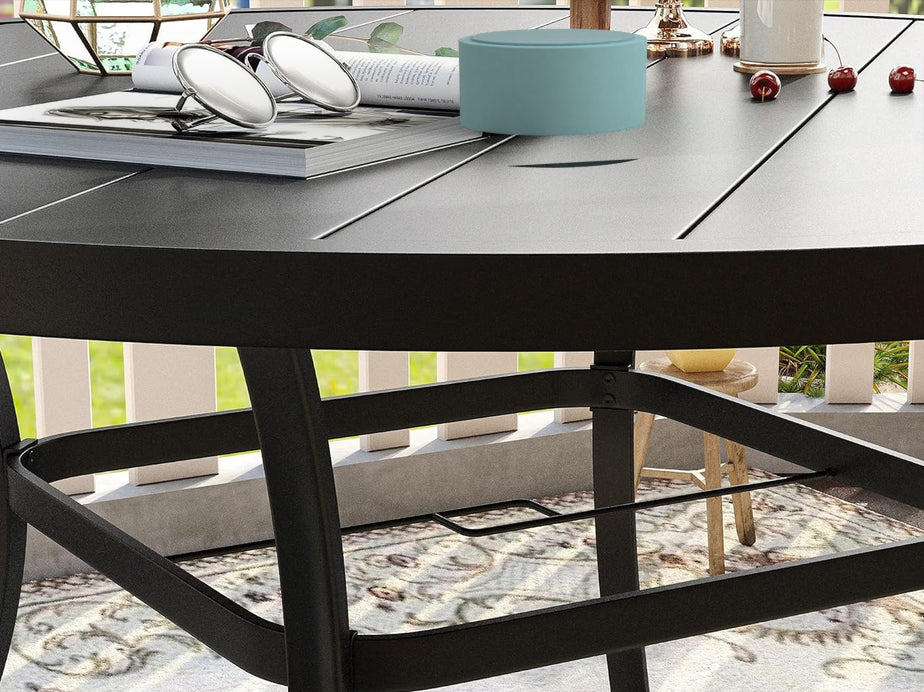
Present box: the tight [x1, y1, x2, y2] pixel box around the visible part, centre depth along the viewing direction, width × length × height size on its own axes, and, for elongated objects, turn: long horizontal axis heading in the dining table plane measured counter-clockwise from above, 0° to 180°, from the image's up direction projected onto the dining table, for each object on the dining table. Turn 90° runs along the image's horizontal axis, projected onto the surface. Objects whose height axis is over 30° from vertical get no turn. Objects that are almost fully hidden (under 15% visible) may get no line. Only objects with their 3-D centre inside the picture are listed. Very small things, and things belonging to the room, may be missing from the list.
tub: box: [458, 28, 648, 169], centre depth 90 cm, size 13×13×7 cm
